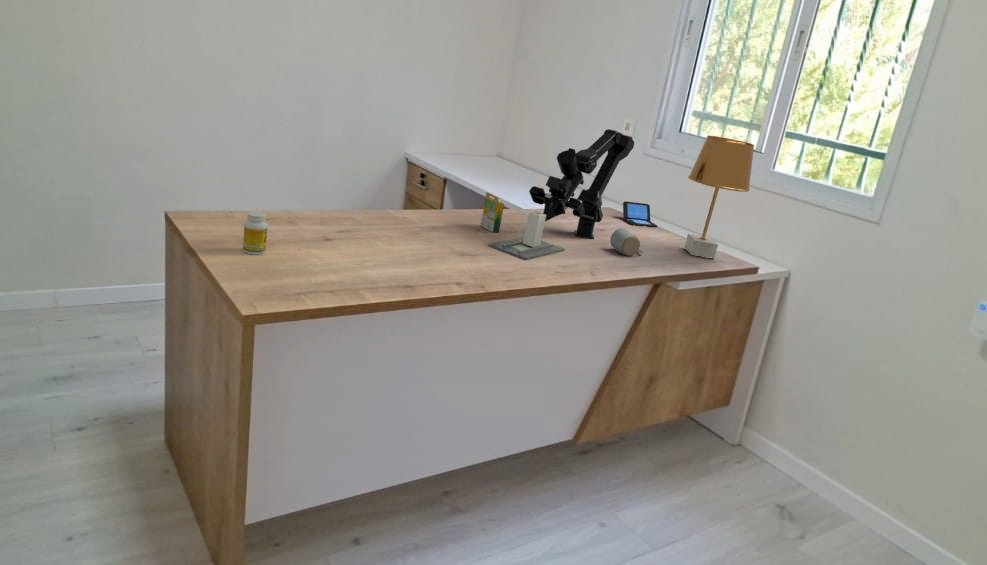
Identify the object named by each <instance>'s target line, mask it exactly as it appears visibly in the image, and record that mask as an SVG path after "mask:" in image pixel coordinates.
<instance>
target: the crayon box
mask: <svg viewBox="0 0 987 565" xmlns="http://www.w3.org/2000/svg"><path fill="white" fill-rule="evenodd" d="M485 193H486V194H485V200H484V204H483V209H482V215H481V221H480V226H481V227H482V228H484V229H486V230H487V231H490V232H491V233H500V228H501V223H502V218H503V213H504V207H505V202H504V203H503V202H502V201H499V197H497V196H496V195H494V194H492V193H490V192H487V191H486V192H485Z"/></svg>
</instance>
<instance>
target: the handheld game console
mask: <svg viewBox="0 0 987 565" xmlns="http://www.w3.org/2000/svg"><path fill="white" fill-rule="evenodd" d="M622 212H623V214H622V215H623V217H622V221H624V222H625V223H626V224H628V225H630V226H633V225H635V226H634V227H642V226H647V227H646V228H652V227H657V228H658V224H655V223H654V222H652V220H651V206H650V204H648V203H642V202H633V201H626V200H625V201H623V203H622Z"/></svg>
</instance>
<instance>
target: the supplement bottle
mask: <svg viewBox="0 0 987 565" xmlns="http://www.w3.org/2000/svg"><path fill="white" fill-rule="evenodd" d="M246 218H247V220H246V221H245V222H244V223H243V233H242V234H243V235H242V236H243V237H242V252H244V253H246V254H248V255H251V256H253V255H254V256H256V255H257V256H258V255H259V256H260V255H263V254H265V253H266V252H267V251H266V250H267V237H268V224H267V222H266V221H265V220H266V214H265V213H264V212H262V211H249V212H248V213H247V217H246Z"/></svg>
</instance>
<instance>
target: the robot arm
mask: <svg viewBox="0 0 987 565" xmlns="http://www.w3.org/2000/svg"><path fill="white" fill-rule="evenodd" d="M634 146H635V141H634V139H633V137H632V136H629V135H626V134H623V133H621V132H620V131H618V130H614V129H605V130H604V131H603V134H602V135H600V137H598V138H597V140H596V141H594V142H593V143H592V144H590V146H589V147H588V148H586V149H580V150H579V151H577V152H576V149H574V148H570V147H569V148H568V149H567V150H563V151H561V152H560V153H558V154H557V156H556V161H557V164H558V167H559V169H560V173H561V174H562V175H563V176H562V177H561V178H558V177H556V176H552V175H549V176H548V178H547V181H546V183H545V186H546V187H548V188H549V189H548V192H546V191H545V189H544V188H542V187H541V186H540V187H539V186H536V185H534V186H533V185H532V186H531V188H530V189H529V190H528V191H529V192H528V193H529V195H530V197H531V200H532V202H533V203H534V204H538V205H544V208H543V213H542V214H545V215H546V219H545V223H546V222H547V221H550V220H552V219H554V218H555V217H558V216H561V215H565V214H566V211H567V210H568V209H572V214H573V216H574V217H578V221H577V227H576V230H575V229H574V235H575V236H576V237H581V238H587V239H591V240H594V239H595V236H594V229H595V225H596V223H601V222H602V220H603V217H604V214H603V210H602V206H603V200H602V199H603V198H602V196H603V194H604V192H605V190H606V188H607V186H608V184H609V182H610V181H611V178H612V177H613V175H614V172H615V171H616V169H617V167H618V165H619V164H620V162H621V161H622V160H624V159H626V158H627V157H628V156H629V155H630V153H631V151H632V150H633V149H634ZM606 152H607V154H606V156H605V158H604V160H603V161H602V164H601V166H600V167H599V169H598V171H597V173H596V175H595V177H594V179H593V180H592V182H591V184H590V187H589V188H588V189H585V188H583V189H582V190H581V191H580V192H579V193H580V194H579V195H578V197H577V198H575V197H574V196H575V191H576V190H577V188H578V187H579V186H580V185H584V183H585V181H584V176H583V174H587V175H591V173H593V172H594V170H596V169H595V168H596V167H597V166H598V160H600V158H602V156H603V155H605V153H606Z"/></svg>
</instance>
